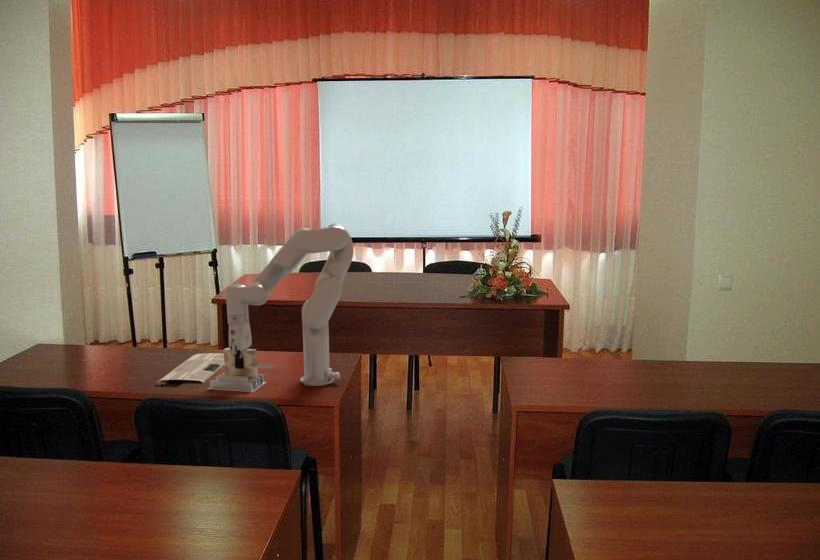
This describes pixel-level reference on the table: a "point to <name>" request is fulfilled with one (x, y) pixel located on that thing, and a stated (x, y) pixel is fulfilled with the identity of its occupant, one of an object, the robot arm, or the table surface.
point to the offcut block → (233, 378)
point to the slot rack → (238, 384)
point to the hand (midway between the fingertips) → (241, 367)
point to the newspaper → (196, 368)
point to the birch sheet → (249, 363)
